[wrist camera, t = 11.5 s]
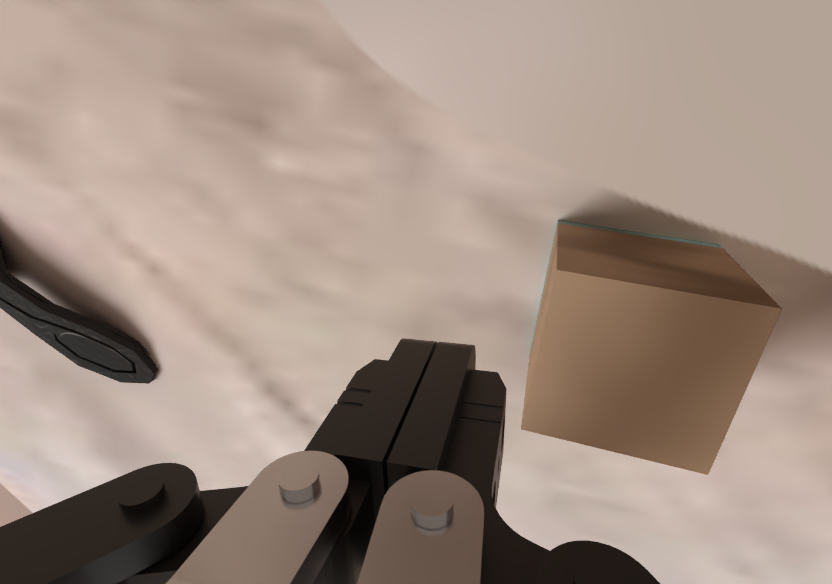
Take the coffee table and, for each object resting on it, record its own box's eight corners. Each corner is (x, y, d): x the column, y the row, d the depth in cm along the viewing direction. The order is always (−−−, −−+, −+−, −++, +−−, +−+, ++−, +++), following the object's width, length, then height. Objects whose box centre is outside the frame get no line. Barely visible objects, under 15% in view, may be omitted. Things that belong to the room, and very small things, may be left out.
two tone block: (707, 474, 16) (671, 375, 21) (782, 308, 13) (718, 244, 19) (521, 429, 17) (530, 346, 22) (556, 269, 14) (557, 219, 20)
